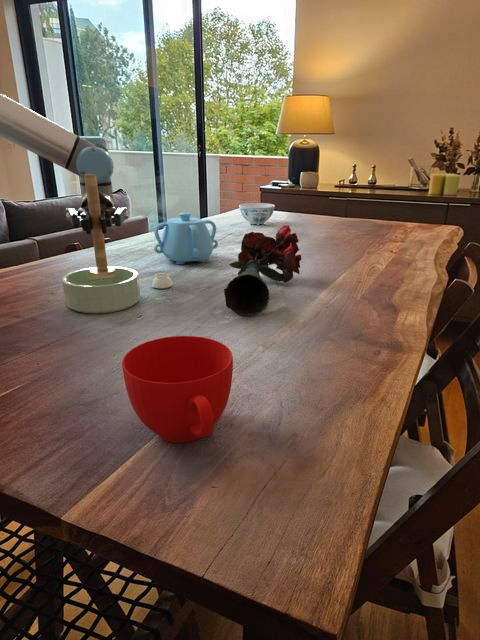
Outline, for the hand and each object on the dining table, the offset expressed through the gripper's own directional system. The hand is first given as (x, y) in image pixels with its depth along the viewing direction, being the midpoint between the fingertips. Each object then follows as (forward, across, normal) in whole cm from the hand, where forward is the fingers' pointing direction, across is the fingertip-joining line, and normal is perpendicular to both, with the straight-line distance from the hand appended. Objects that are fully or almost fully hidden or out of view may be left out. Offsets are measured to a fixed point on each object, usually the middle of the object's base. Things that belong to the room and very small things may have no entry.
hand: (95, 226), depth 88 cm
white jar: (-16, -13, -18) cm, 27 cm away
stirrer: (-6, 0, -11) cm, 12 cm away
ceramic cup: (+48, -10, -18) cm, 52 cm away
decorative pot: (-41, -23, -18) cm, 51 cm away
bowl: (-7, +1, -18) cm, 19 cm away
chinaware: (-97, -61, -18) cm, 116 cm away
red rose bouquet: (-5, -36, -18) cm, 40 cm away
